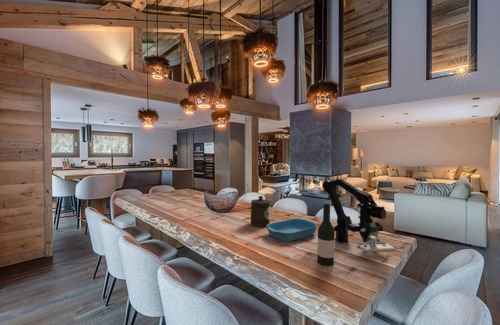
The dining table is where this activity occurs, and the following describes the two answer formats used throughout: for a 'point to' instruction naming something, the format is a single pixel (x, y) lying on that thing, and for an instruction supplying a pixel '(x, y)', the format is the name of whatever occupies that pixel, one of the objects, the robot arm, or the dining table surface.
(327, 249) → the wine bottle
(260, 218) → the wooden container
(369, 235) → the plant pot
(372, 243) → the slider
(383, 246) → the plate
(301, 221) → the casserole dish
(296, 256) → the dining table surface
